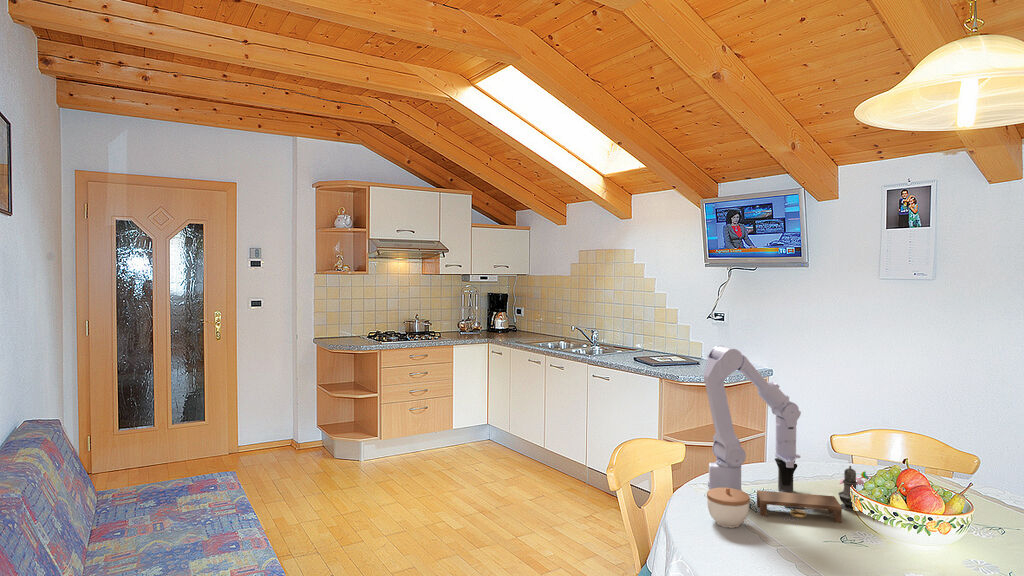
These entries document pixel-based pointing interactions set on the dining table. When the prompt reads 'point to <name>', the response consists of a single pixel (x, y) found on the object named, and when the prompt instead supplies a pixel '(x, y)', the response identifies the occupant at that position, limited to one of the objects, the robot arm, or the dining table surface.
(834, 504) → the low shelf
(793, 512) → the brass token
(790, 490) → the scraper tool
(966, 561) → the dining table surface
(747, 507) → the lidded jar
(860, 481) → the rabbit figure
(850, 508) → the salt shaker
